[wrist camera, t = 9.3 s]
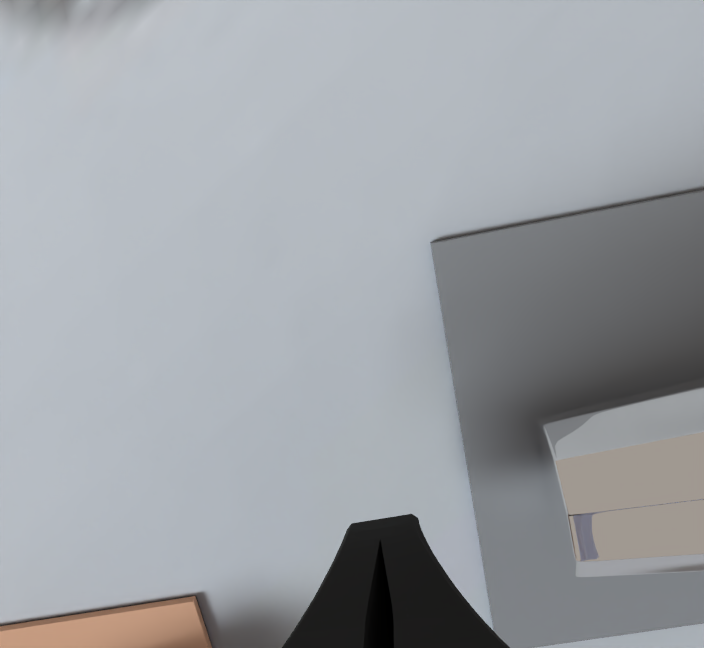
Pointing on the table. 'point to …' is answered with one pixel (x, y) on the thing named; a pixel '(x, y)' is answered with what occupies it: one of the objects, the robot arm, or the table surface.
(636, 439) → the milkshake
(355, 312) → the table surface
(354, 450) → the table surface
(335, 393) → the table surface
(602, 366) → the tile slate
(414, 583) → the robot arm
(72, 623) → the tile terracotta
